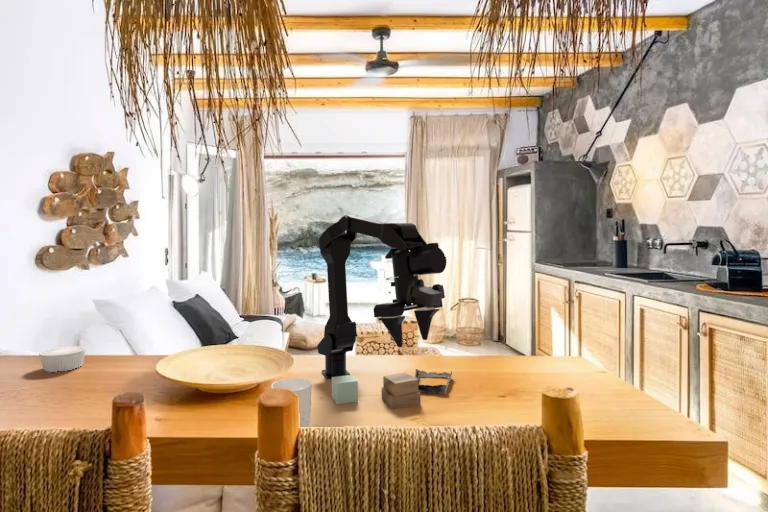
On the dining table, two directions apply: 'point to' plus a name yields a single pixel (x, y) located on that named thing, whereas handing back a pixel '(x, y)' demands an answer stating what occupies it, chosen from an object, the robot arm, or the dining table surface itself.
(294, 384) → the white cup
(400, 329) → the robot arm
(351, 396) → the sage cube
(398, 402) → the slab base
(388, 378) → the slab top
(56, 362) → the ramekin
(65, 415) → the dining table surface
